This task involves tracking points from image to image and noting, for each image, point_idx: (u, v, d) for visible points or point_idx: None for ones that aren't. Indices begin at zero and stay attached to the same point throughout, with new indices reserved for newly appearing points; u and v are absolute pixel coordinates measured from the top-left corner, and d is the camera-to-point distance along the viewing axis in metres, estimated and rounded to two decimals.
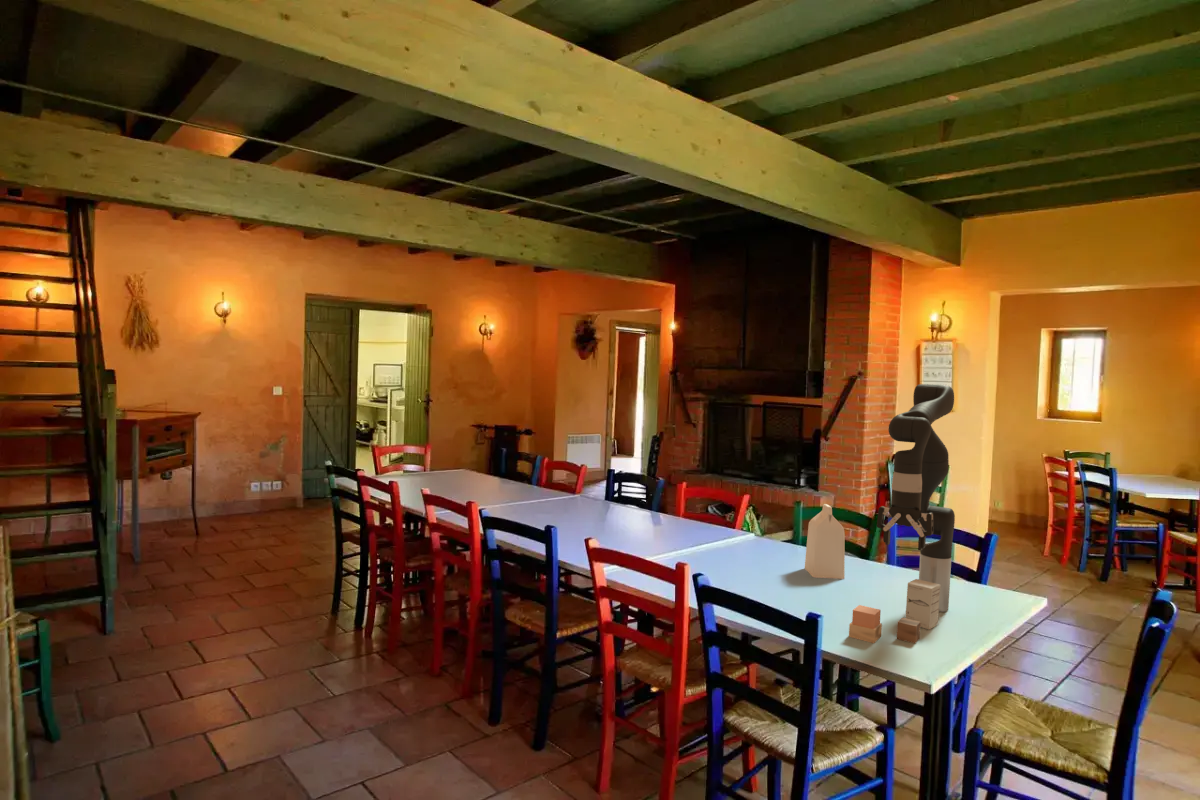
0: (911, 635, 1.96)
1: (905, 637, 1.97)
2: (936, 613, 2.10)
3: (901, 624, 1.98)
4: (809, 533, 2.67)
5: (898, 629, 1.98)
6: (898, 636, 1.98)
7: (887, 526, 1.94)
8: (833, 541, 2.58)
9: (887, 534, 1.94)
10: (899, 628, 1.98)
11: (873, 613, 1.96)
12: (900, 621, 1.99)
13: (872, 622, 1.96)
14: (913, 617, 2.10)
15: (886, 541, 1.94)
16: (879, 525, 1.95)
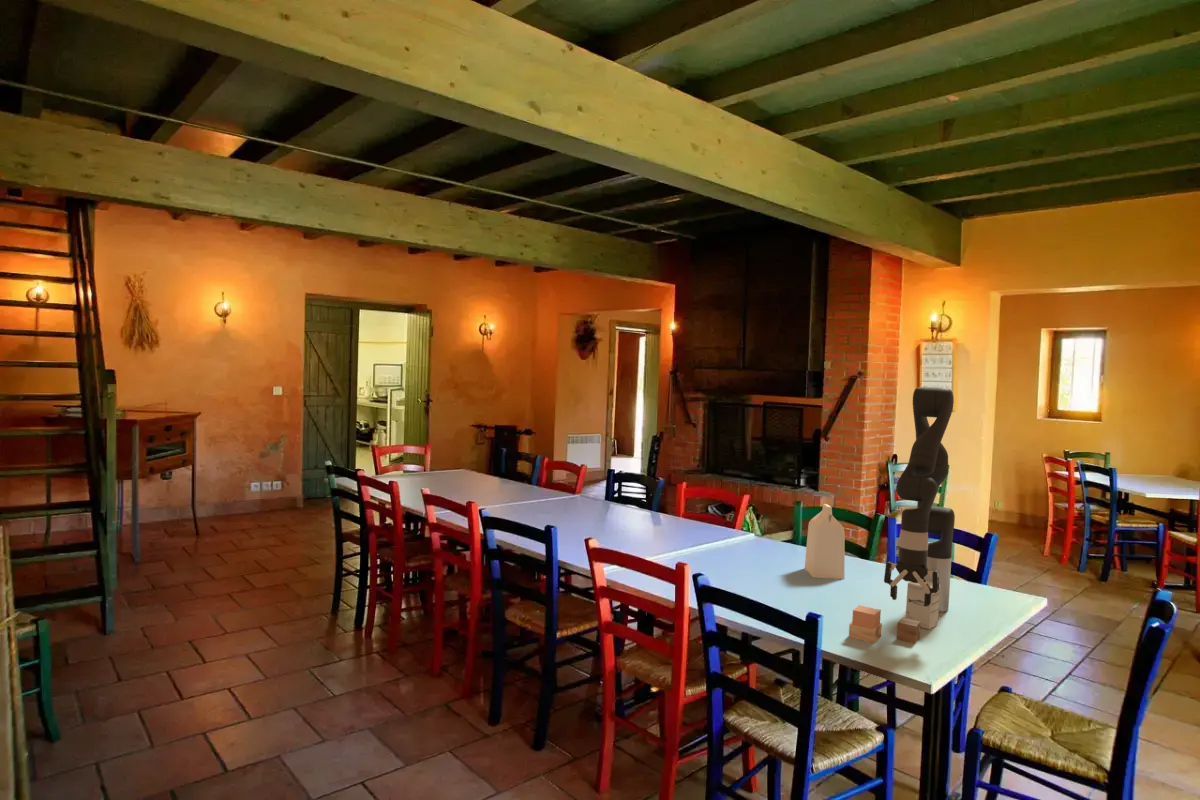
0: (911, 635, 1.96)
1: (905, 637, 1.97)
2: (936, 613, 2.10)
3: (901, 624, 1.98)
4: (809, 533, 2.67)
5: (898, 629, 1.98)
6: (898, 636, 1.98)
7: (894, 582, 2.00)
8: (833, 541, 2.58)
9: (894, 589, 2.00)
10: (899, 628, 1.98)
11: (873, 613, 1.96)
12: (900, 621, 1.99)
13: (872, 622, 1.95)
14: (913, 617, 2.10)
15: (893, 596, 2.00)
16: (886, 580, 2.01)
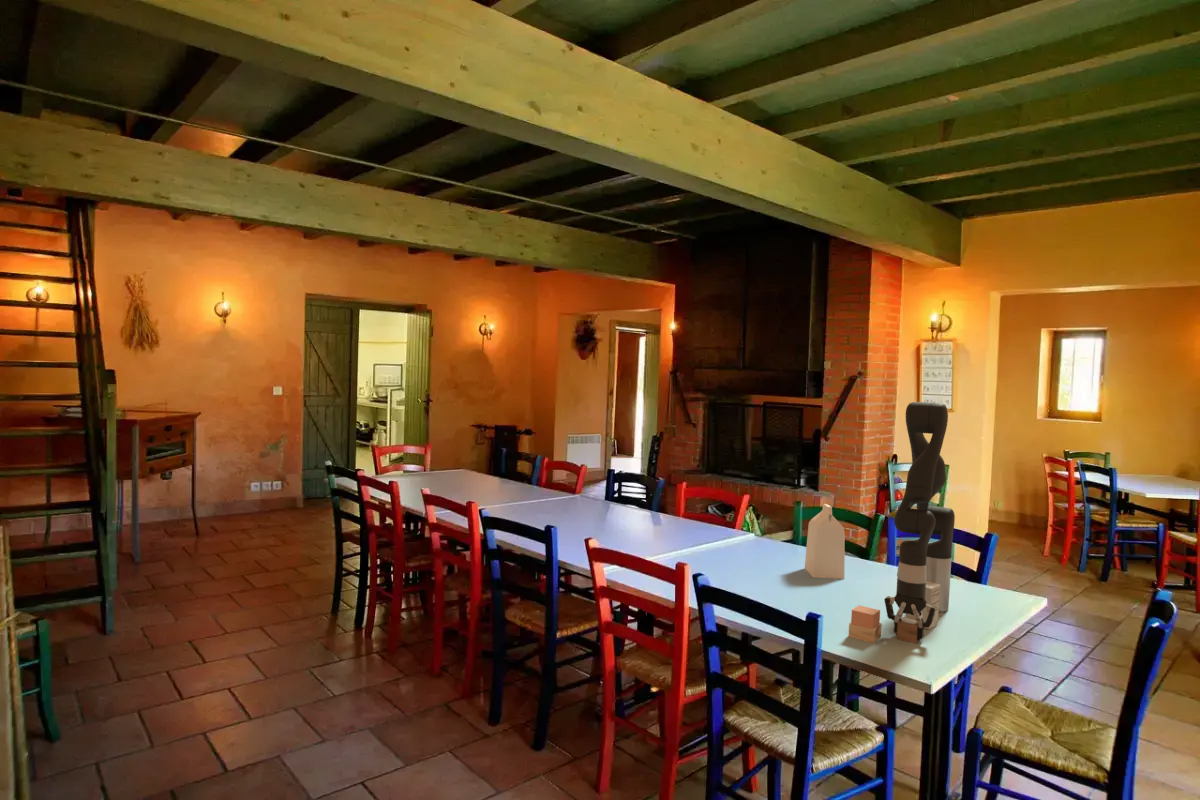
0: (911, 634, 1.96)
1: (905, 636, 1.97)
2: (936, 613, 2.10)
3: (901, 624, 1.98)
4: (809, 533, 2.67)
5: (898, 629, 1.98)
6: (898, 636, 1.98)
7: (897, 617, 2.00)
8: (833, 541, 2.58)
9: None
10: (899, 628, 1.98)
11: (872, 613, 1.96)
12: (900, 621, 1.99)
13: (871, 622, 1.95)
14: (913, 617, 2.10)
15: None
16: (890, 616, 2.01)
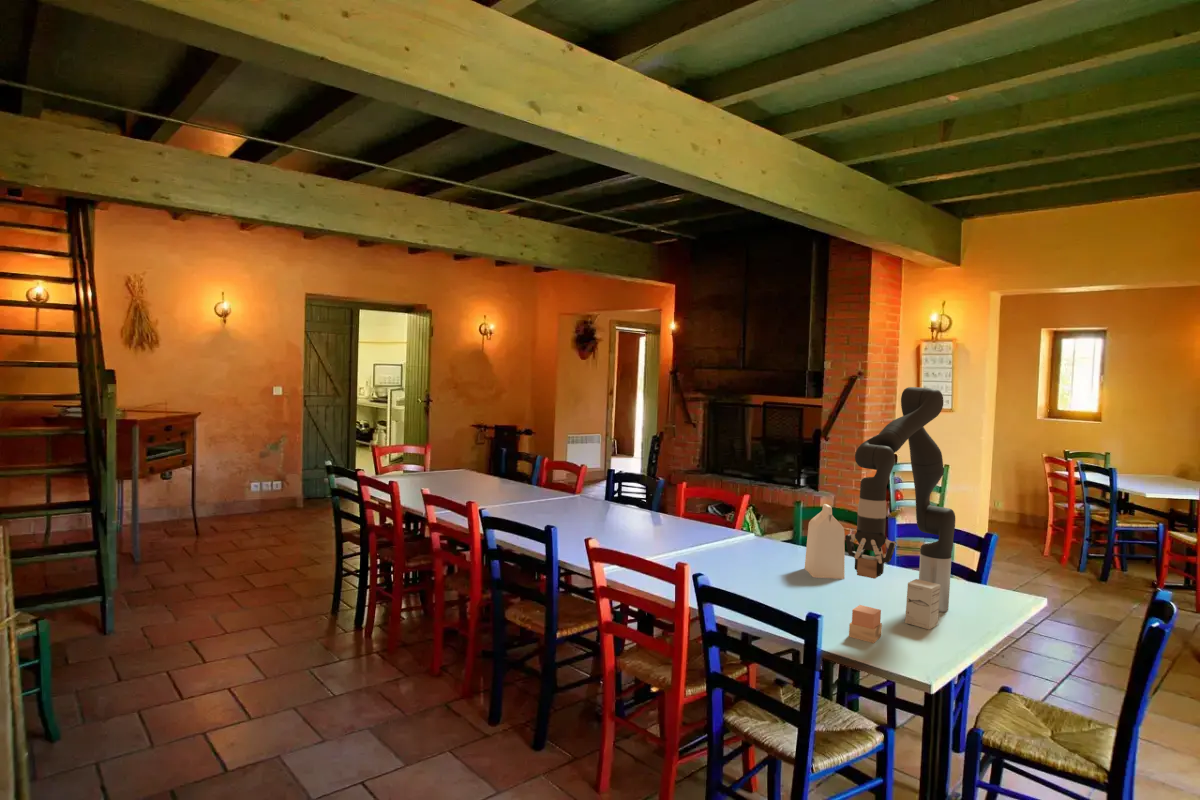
0: (871, 570, 1.96)
1: (865, 572, 1.97)
2: (936, 613, 2.10)
3: (861, 560, 1.98)
4: (809, 533, 2.67)
5: (858, 565, 1.98)
6: (858, 572, 1.98)
7: (857, 554, 2.00)
8: (833, 541, 2.58)
9: None
10: (859, 564, 1.98)
11: (873, 613, 1.96)
12: (860, 557, 1.99)
13: (871, 622, 1.95)
14: (913, 617, 2.10)
15: None
16: (850, 553, 2.01)
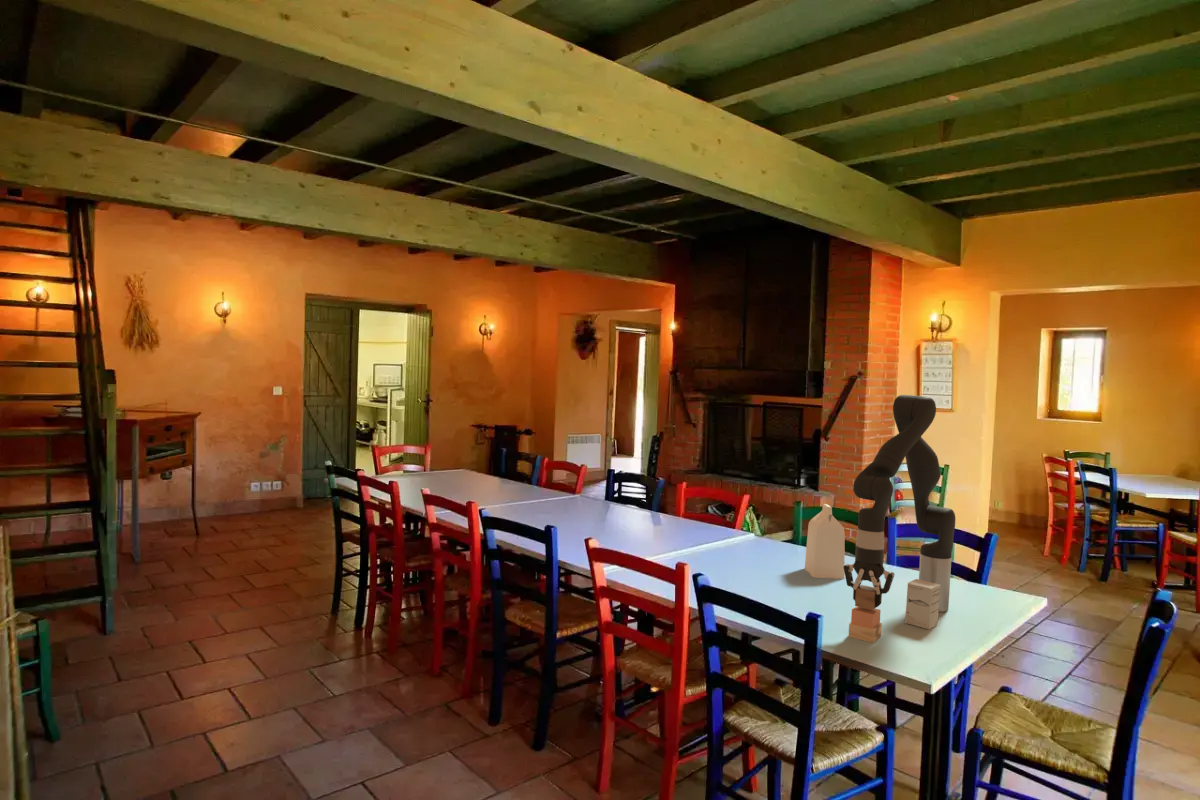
0: (869, 601, 1.96)
1: (863, 603, 1.97)
2: (936, 613, 2.10)
3: (859, 591, 1.98)
4: (809, 533, 2.67)
5: (856, 596, 1.98)
6: (856, 603, 1.98)
7: (856, 584, 2.00)
8: (833, 541, 2.58)
9: None
10: (857, 594, 1.98)
11: (872, 613, 1.96)
12: (858, 588, 1.99)
13: (870, 622, 1.96)
14: (913, 617, 2.10)
15: None
16: (849, 583, 2.01)
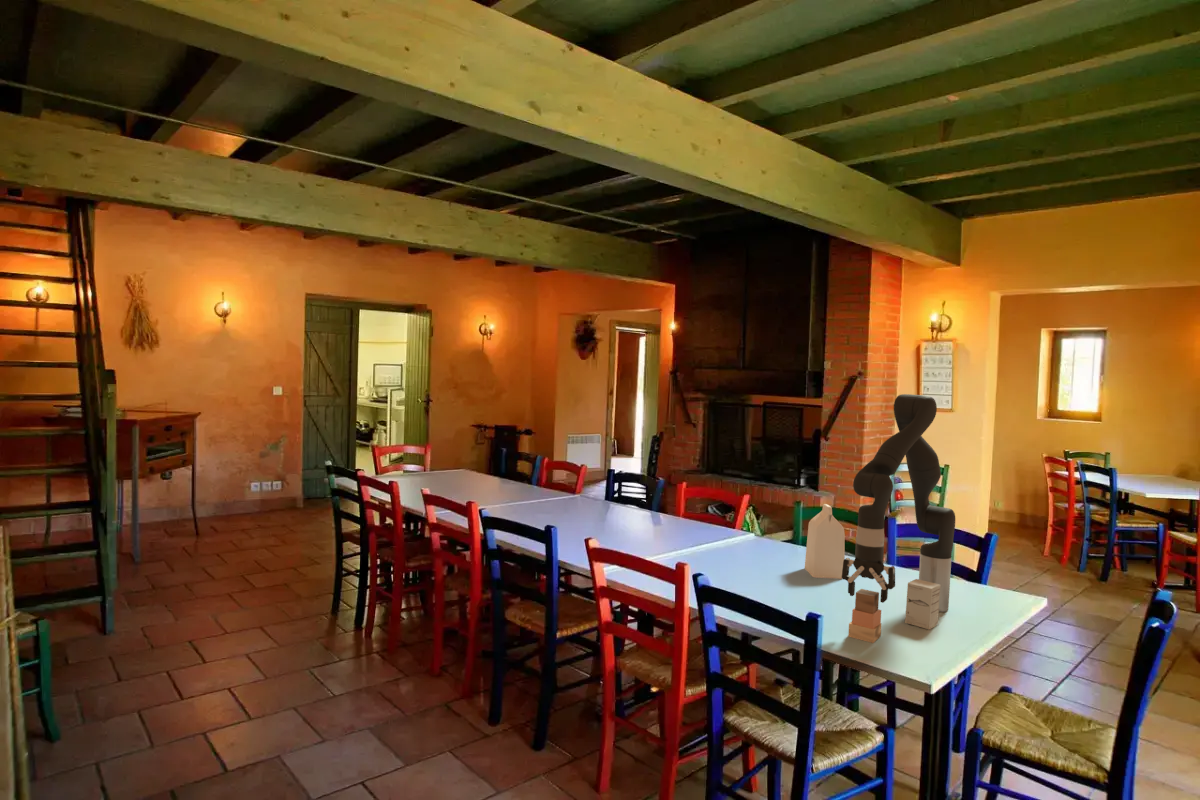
0: (869, 605, 1.96)
1: (863, 607, 1.97)
2: (936, 613, 2.10)
3: (859, 595, 1.98)
4: (809, 533, 2.67)
5: (856, 600, 1.98)
6: (856, 607, 1.98)
7: (851, 578, 2.01)
8: (833, 541, 2.58)
9: (851, 586, 2.01)
10: (857, 599, 1.98)
11: None
12: (858, 592, 1.99)
13: (871, 622, 1.95)
14: (913, 617, 2.10)
15: (850, 592, 2.01)
16: (844, 577, 2.02)
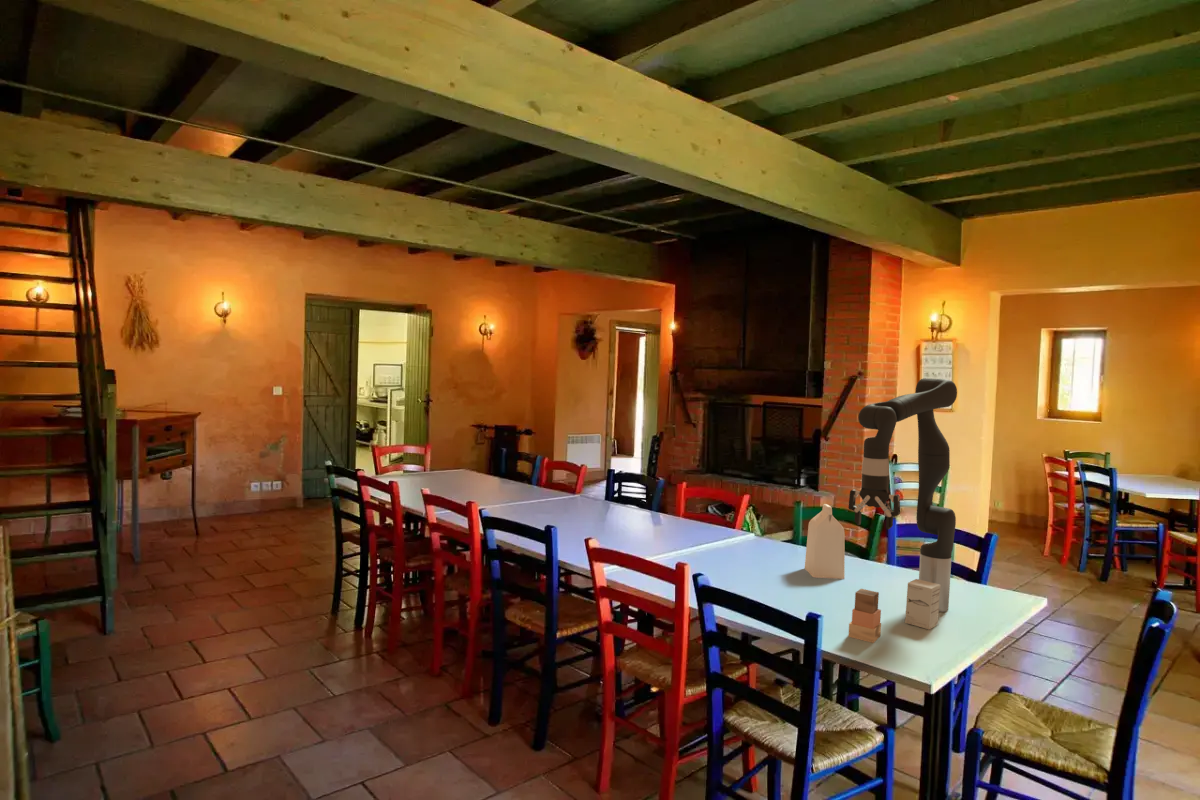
0: (868, 605, 1.96)
1: (862, 607, 1.97)
2: (936, 613, 2.10)
3: (859, 594, 1.98)
4: (809, 533, 2.67)
5: (856, 600, 1.98)
6: (856, 607, 1.98)
7: (858, 508, 2.09)
8: (833, 541, 2.58)
9: (858, 515, 2.09)
10: (857, 598, 1.98)
11: (873, 613, 1.96)
12: (858, 591, 1.99)
13: (871, 622, 1.95)
14: (913, 617, 2.10)
15: (857, 521, 2.09)
16: (851, 507, 2.10)
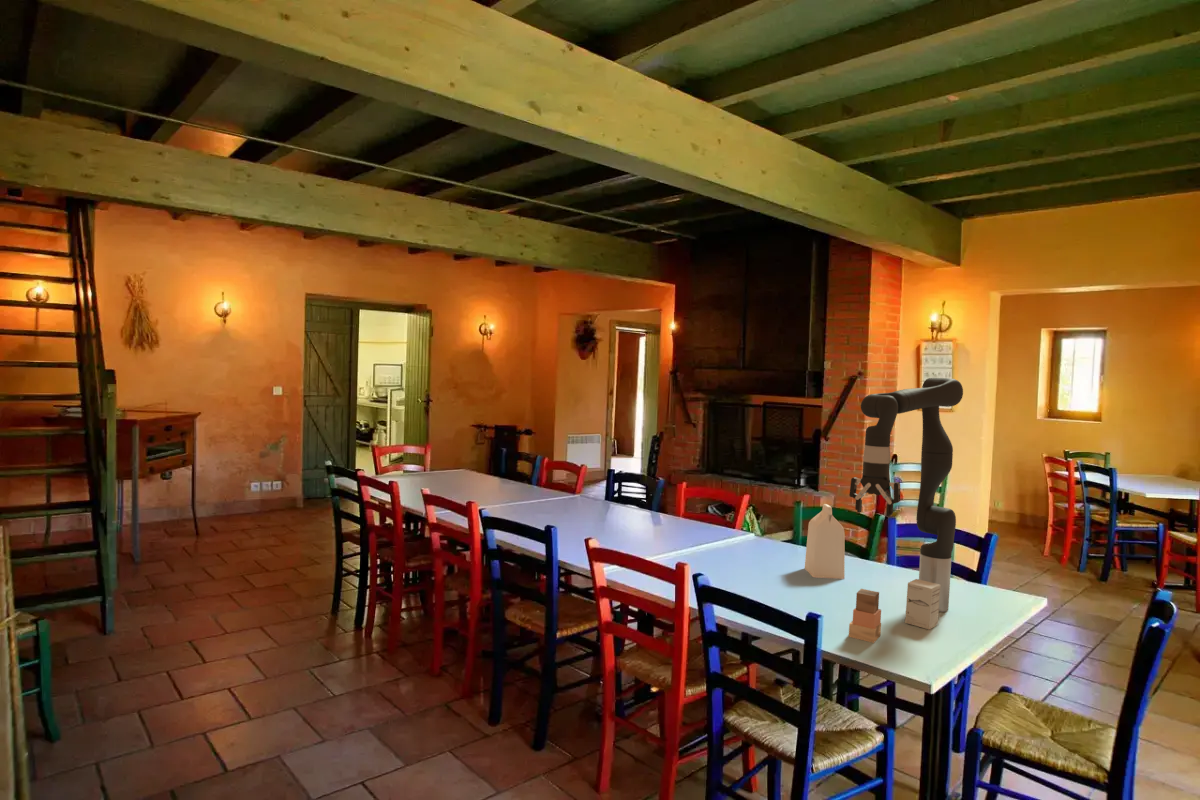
0: (870, 605, 1.96)
1: (864, 607, 1.97)
2: (936, 613, 2.10)
3: (860, 595, 1.98)
4: (809, 533, 2.67)
5: (857, 600, 1.98)
6: (857, 607, 1.98)
7: (859, 495, 2.12)
8: (833, 541, 2.58)
9: (859, 502, 2.12)
10: (858, 599, 1.98)
11: None
12: (859, 592, 1.99)
13: (872, 622, 1.95)
14: (913, 617, 2.10)
15: (858, 509, 2.12)
16: (851, 494, 2.13)
